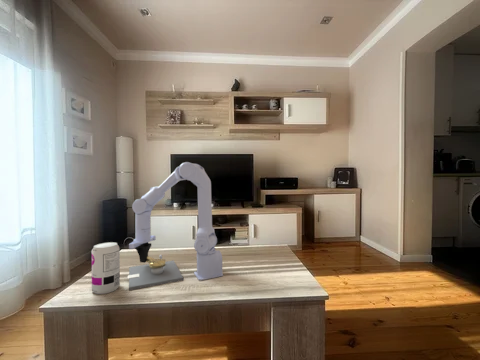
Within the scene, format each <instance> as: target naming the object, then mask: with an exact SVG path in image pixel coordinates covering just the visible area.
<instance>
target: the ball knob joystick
mask: <svg viewBox="0 0 480 360" xmlns="http://www.w3.org/2000/svg"><path fill="white" fill-rule="evenodd" d="M165 262H166V259H165V258H162V259H159V258H153V257H151V256H149V254H148V255H147V261H146V262H145V263H148V264H149V267H150V268H160V267H163V266H165V265H166V263H165Z"/></svg>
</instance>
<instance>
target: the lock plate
mask: <svg viewBox="0 0 480 360" xmlns="http://www.w3.org/2000/svg"><path fill="white" fill-rule="evenodd" d="M158 257H159V258H158V259H163V254H159V256H158ZM165 263H166V265H165V266H163V267H160V268H150V267H149V263H148V264H142V265H135V266H134V265H133V266H130V267H128V275H127V279H128V291H133V290H138V289H144V288H149V287H155V286H161V285H164V284H165V285H166V284H170V283H174V282H175V283H177V282H181V281H184V277H183V275H182V273H181V271H180V269H179V267H178V265H177V264H176V262H175V260H170V261H169V260H168V261H165Z"/></svg>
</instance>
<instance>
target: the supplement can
mask: <svg viewBox="0 0 480 360" xmlns="http://www.w3.org/2000/svg"><path fill="white" fill-rule="evenodd" d="M120 254H121V253H120V246H119V245H118V242H113V241H110V242H109V241H107V242H102V243H98V244H95V245H93V248H92V249H91V292H92V293H94V294H95V295H105V294H109V293H112V292H114V291H116V290H117V289H118V288H119V287H120V284H121V283H120V282H121V280H120V277H121V275H120V273H121V270H120V267H121V266H120V262H121V261H120V258H121V257H120V256H121V255H120Z"/></svg>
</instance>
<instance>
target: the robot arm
mask: <svg viewBox="0 0 480 360" xmlns="http://www.w3.org/2000/svg"><path fill="white" fill-rule="evenodd" d="M186 180H187V181H190V182H191V183H192V184H193V185H194V186H196V187H197V213H198V214H197V219H198V221H197V222H198V226H197V227H198V229H197V232H196V234H195V236H196V238H195V241H194V243H193V246H194V250H195V252H196V271H194V272H193V274H194V276H195V277H196V279H197V280H198V281H204V280H209V279H215V278H218V277H219V278H221V277H223V276H224V274H223V254H222V252H221V251H220V250H216V247H215V246H216V245H217V243H218V238H217V236H216V233H215V228H214V227H213V211H212V209H213V208H212V207H213V206H212V205H213V204H212V181H211V179H210V177H209V176H208V174H207V172H206V171H205V168H204V167H203V166H201V165H200V164H198V163H192V162H189V161H185V162H182V163H181V164H180V165H179V166H177V167H176V168H175V169H174V170H173V172H172V173H171V174H170V175H169V176H168V177H167V178H166V179H165V180H164V181H162V183H161V184H159V186H156V185H155V186H151V187H149V191H147V192H146V193H145V194H142V196H141V198H137V199H135V200H134V201H133V203H132V205H131V208H132V211H133V213H135V214H134V215H135V220H134V221H135V228H134V229H135V238H134V239H133V241H131V242H130V243H129V244H128V249H129V250H134V249H135V251H136V252H137V254H138V256H139V263H144V264H145V263H147V262H146V261H147V255H148V256H149V251H150V249H151V247H152V243H151V242H152V241H156V238H157V237H156V235H152V234H151V231H152V229H151V228H152V227H151V226H152V225H151V222H152V221H151V215H152V211H153V210H154V207H155V206H156V205H157V204H158V203H159V202H160V201H161V200H163V198H165V195H166V192H167V191H168V190H170V189H171V188H173V186H176V184H177V183H178V182H180V181H186Z"/></svg>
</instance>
